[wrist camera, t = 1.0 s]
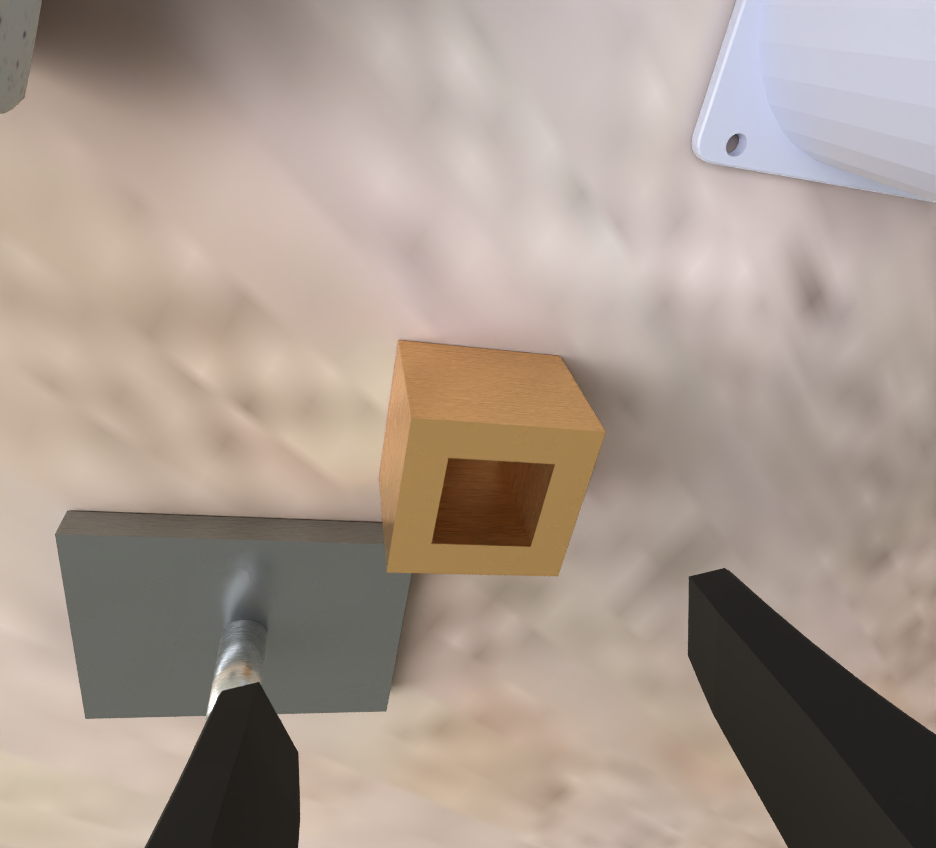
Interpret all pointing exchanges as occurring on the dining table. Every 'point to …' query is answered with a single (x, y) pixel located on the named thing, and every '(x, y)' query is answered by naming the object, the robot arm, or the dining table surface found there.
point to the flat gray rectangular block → (229, 612)
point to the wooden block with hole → (483, 461)
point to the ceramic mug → (16, 48)
